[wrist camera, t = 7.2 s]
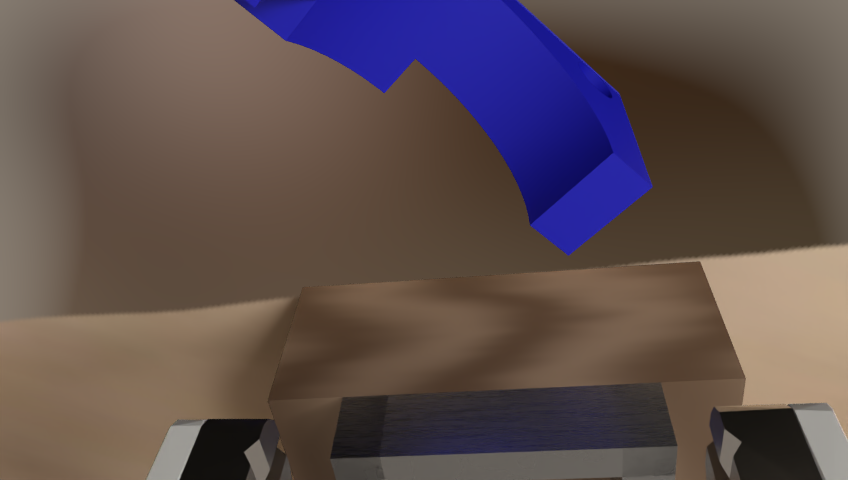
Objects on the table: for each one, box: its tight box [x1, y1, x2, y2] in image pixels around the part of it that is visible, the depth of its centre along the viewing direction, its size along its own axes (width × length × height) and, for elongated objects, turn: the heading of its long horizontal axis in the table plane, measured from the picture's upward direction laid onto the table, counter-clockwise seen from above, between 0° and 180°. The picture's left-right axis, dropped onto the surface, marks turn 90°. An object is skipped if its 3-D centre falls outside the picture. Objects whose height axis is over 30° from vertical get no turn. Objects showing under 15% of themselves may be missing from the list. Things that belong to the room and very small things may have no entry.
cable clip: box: [235, 0, 652, 255], centre depth 22 cm, size 12×4×6 cm, turn 50°
